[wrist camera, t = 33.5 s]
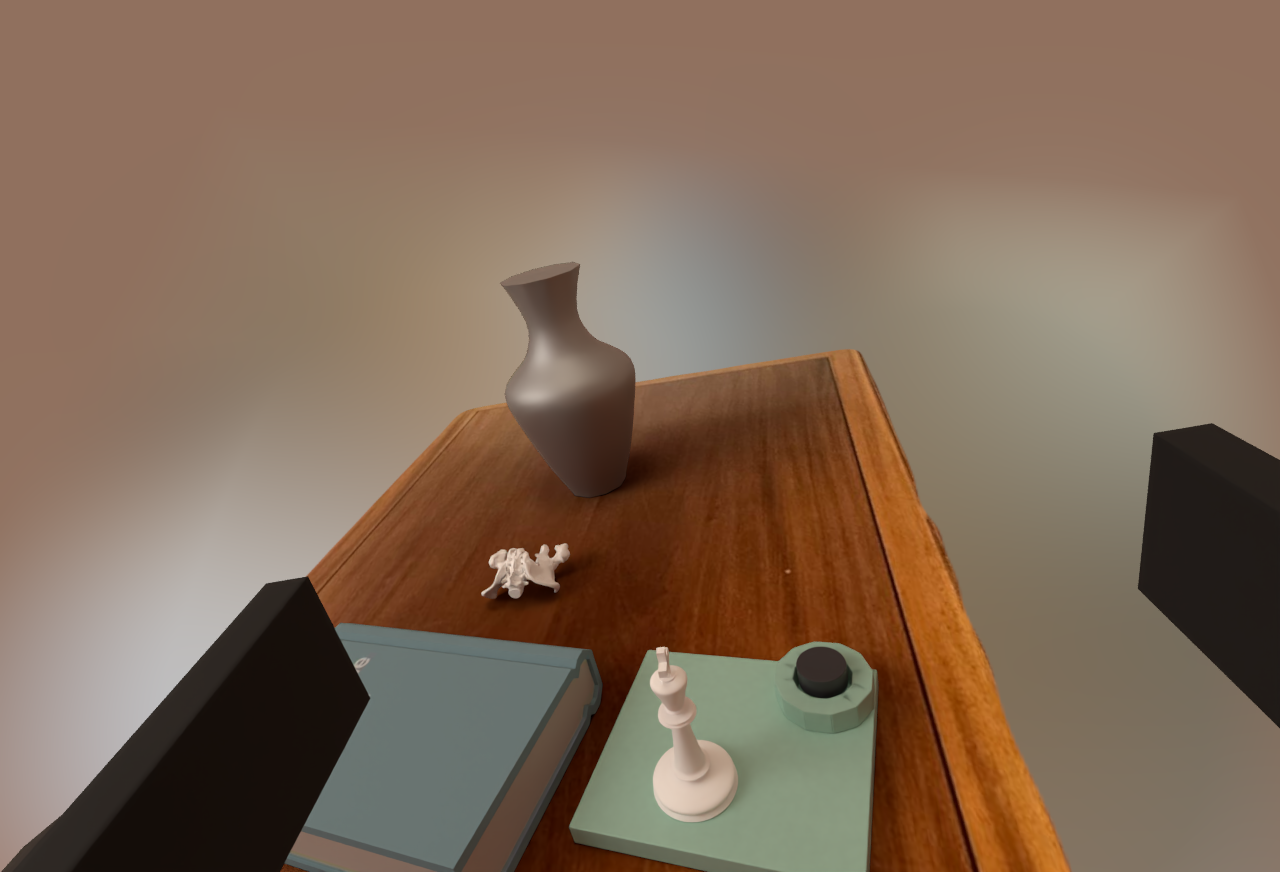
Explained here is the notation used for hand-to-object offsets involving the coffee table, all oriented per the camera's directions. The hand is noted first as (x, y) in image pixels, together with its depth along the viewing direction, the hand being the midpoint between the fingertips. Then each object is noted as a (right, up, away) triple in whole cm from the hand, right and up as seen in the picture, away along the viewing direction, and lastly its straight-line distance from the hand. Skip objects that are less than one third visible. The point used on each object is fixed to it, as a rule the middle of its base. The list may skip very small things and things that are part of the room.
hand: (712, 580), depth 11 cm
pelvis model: (-11, -12, +52) cm, 55 cm away
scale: (+5, -17, +30) cm, 35 cm away
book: (-17, -20, +36) cm, 44 cm away
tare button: (+10, -13, +31) cm, 35 cm away
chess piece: (+2, -18, +28) cm, 33 cm away
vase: (-6, -3, +68) cm, 68 cm away
